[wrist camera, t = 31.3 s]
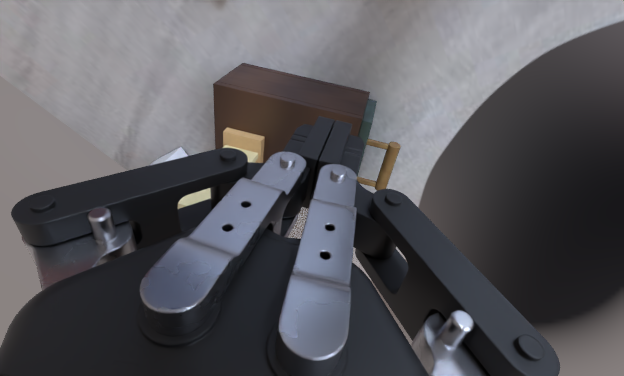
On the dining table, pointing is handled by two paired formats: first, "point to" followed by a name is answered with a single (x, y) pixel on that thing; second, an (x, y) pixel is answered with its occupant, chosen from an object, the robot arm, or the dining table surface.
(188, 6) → the dining table surface
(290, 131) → the cabinet
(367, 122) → the drawer
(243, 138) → the beige upright flat slab
